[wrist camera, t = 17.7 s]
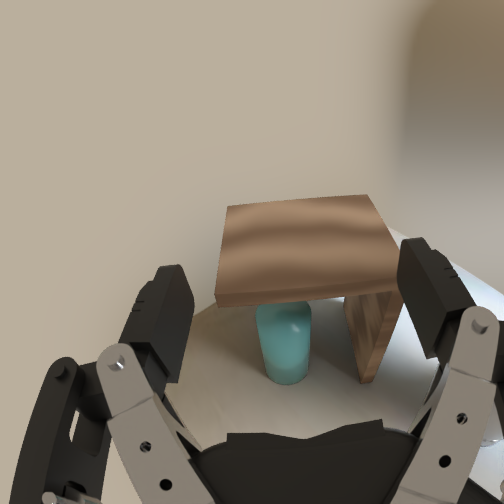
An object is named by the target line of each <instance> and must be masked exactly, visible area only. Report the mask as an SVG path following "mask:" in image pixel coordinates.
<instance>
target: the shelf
mask: <svg viewBox="0 0 504 504" xmlns="http://www.w3.org/2000/svg"><path fill="white" fill-rule="evenodd" d="M399 255H400V250H399V248H398V246H397V245H396V243H395V241H394V239H393V237H392V235H391V234H390V232H389V230H388V228H387V227H386V225H385V224H384V222H383V220H382V218H381V216H380V215H379V213H378V211H377V210H376V208H375V206H374V205H373V203H372V202H371V200H370V198H369V197H368V195H350V196H335V197H322V198H321V197H320V198H308V199H296V200H284V201H273V202H263V203H253V204H243V205H234V206H228V207H227V213H226V219H225V226H224V233H223V239H222V245H221V252H220V260H219V266H218V273H217V280H216V287H215V294H214V295H215V298H216V301H217V304H218V307H234V306H249V305H262V304H275V303H287V302H298V301H308V300H318V299H328V298H337V297H345V298H344V305H343V307H344V311H345V315H346V319H347V323H348V328H349V332H350V336H351V341H352V345H353V350H354V354H355V359H356V364H357V368H358V373H359V378H360V383H361V384H362V383H368V382H372V381H373V378H374V376H375V374H376V372H377V370H378V367H379V365H380V363H381V360H382V358H383V356H384V353H385V351H386V349H387V346H388V344H389V341H390V339H391V336H392V334H393V331H394V328H395V326H396V323H397V320H398V318H399V315H400V312H401V309H402V306H403V303H404V301H403V298H402V296H401V294H400V291H399V289H398V285H397V278H396V275H397V268H398V261H399Z"/></svg>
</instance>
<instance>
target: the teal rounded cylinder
mask: <svg viewBox="0 0 504 504" xmlns="http://www.w3.org/2000/svg"><path fill="white" fill-rule="evenodd" d="M255 318H256V323H257V328H258V334H259V339H260V344H261V349H262V354H263V359H264V364H265V369H266V373H267V375H268V377H269V378H270V379H271V380H272V381H274V382H276V383H278V384H282V385H291V384H295V383H297V382H299V381H300V380H302V379H303V378H304V377H305V376H306V374H307V372H308V369H309V354H310V332H311V309H310V306H309V305H308V303H307V302H306V301H298V302H287V303H275V304H262V305H259V306H258V308H257V310H256V314H255Z"/></svg>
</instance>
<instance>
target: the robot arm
mask: <svg viewBox="0 0 504 504" xmlns="http://www.w3.org/2000/svg"><path fill="white" fill-rule="evenodd" d="M396 278H397V285H398V289H399V291H400V294H401V296H402V298H403V301H404V303H405V305H406V308H407V310H408V312H409V315H410V317H411V320H412V322H413V325H414V327H415V330H416V332H417V335H418V338H419V340H420V343H421V346H422V348H423V351H424V354H425V357H426V359H430V358H434V357H437V358H438V361H439V364H438V366H437V368H436V371H435V374H434V376H433V379H432V382H431V384H430V387H429V389H428V392H427V394H426V396H425V399H424V401H423V403H422V406H421V408H420V410H419V412H418V414H417V416H416V417H415V419H414V421H413V423H412V424H411V426H410V428H409V430H408V432H405V431H402V430H398V429H393V428H384V427H383V422H382V419H379V420H374V421H368V422H363V423H357V424H351V425H345V426H342V427H340V428H337V429H334V430H332V431H329V432H326V433H323V434H321V435H318V436H315V437H312V438H308V439H298V438H292V437H286V436H280V435H274V434H269V433H227V442H223V443H219V444H216V445H213V446H211V447H209V448H207V449H205V450H203V449H202V447H201V446H200V445H199V443H198V442H197V441H196V440H195V438H194V437H193V436H192V435H191V433H190V432H189V430H188V429H187V427H186V426H185V424H184V422H183V421H182V419H181V418H180V416H179V414H178V413H177V411H176V409H175V407H174V406H173V404H172V402H171V401H170V399H169V397H168V395H167V394H166V392H165V387H166V383H178V379H179V375H180V370H181V365H182V361H183V356H184V352H185V348H186V343H187V339H188V334H189V330H190V326H191V322H192V317H193V313H194V297H193V294H192V291H191V289H190V286H189V284H188V282H187V279H186V276H185V274H184V271H183V268H182V267H181V266H180V265H179V264H177V265H168V266H160V267H159V268H158V270H157V273H156V275H155V277H154V280H153V281H148V282H147V283H146V285H145V286H144V287H143V288H142V289H141V290H140V292H139V294H138V296H137V298H136V301H135V304H134V305H133V308H132V312H130V315H129V317H128V319H127V322H126V324H125V327H124V329H123V332H122V334H121V337H120V339H119V342H118V344H114V345H111V346H109V347H108V348H106V349H105V350H104V351H103V352H102V353H101V354H100V356H99V358H98V360H97V361H96V362H92V363H88V364H84V365H80V366H79V365H78V364H77V363H76V362H75V361H74V359H72V358H70V357H62V358H60V359H58V360H56V361H55V362H54V363H53V364H52V365H51V366H50V368H49V370H48V372H47V374H46V377H45V379H44V382H43V384H42V387H41V390H40V393H39V395H38V398H37V401H36V404H35V406H34V409H33V412H32V415H31V418H30V421H29V424H28V427H27V431H26V434H25V437H24V441H23V444H22V448H21V451H20V455H19V459H18V463H17V467H16V472H15V476H14V481H13V485H12V490H11V495H10V501H9V504H102V503H101V495H102V488H103V482H104V476H105V470H106V464H107V458H108V453H109V448H110V443H111V438H113V441H114V443H115V446H116V448H117V451H118V453H119V455H120V458H121V460H122V462H123V465H124V467H125V469H126V471H127V473H128V475H129V478H130V479H131V481H132V484H133V486H134V488H135V490H136V492H137V494H138V496H139V498H140V499H141V501H142V503H143V504H504V480H503V481H502V483H501V485H500V490H501V492H502V493H503V494H502V498H501V500H498V499H497V498H496V497H494V496H493V495H491V494H490V493H489V492H487V491H486V490H485V489H483V488H482V487H481V486H479V485H478V484H477V483H475V482H474V481H473V480H471V479H470V478H469V477H468V476H469V474H470V472H471V469H472V467H473V464H474V462H475V459H476V456H477V454H478V451H479V448H480V446H490V445H493V444H495V443H497V442H499V441H500V440H502V439H504V321H498V319H497V318H496V316H495V315H494V314H493V313H492V312H491V311H490V310H488V309H486V308H484V307H480V306H477V305H476V304H475V302H474V300H473V299H472V297H471V295H470V293H469V292H468V290H467V289H466V287H465V285H464V284H463V282H462V281H461V279H460V277H458V274H457V273H456V271H455V270H454V269H453V267H452V265H451V264H450V262H449V261H448V259H447V258H446V257H445V256H444V255H443V254H441V253H440V252H439V251H437V250H436V249H435V250H431V248H430V247H429V245H428V244H427V242H426V241H425V240H424V238H422V237H420V238H411V239H404V240H402V242H401V248H400V255H399V261H398V268H397V275H396ZM75 410H76V411H78V412H79V413H80V414H79V417H78V421H77V424H76V429H75V432H74V436H73V440H72V442H71V440H70V437H69V432H70V428H71V424H72V421H73V417H74V414H75Z"/></svg>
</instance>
